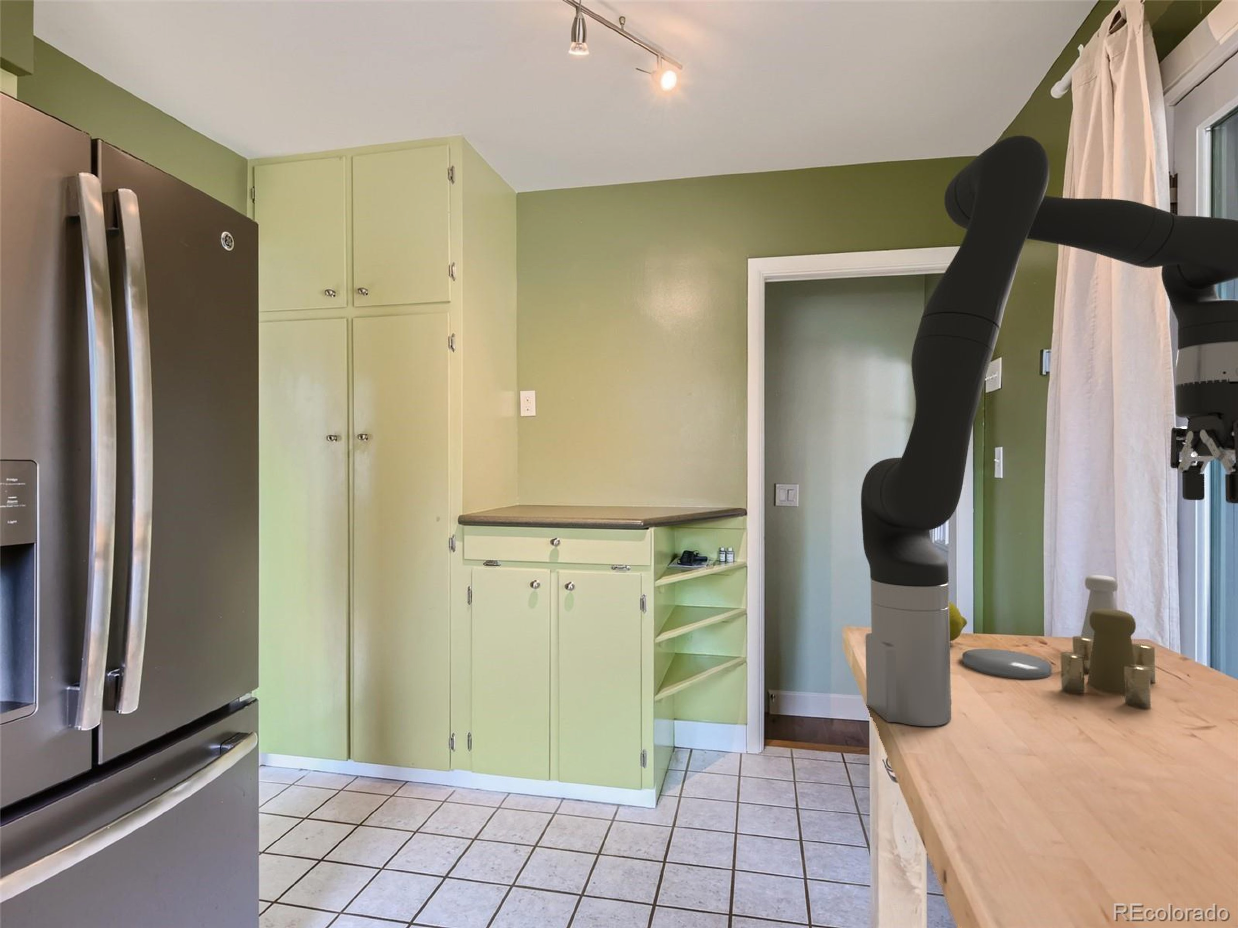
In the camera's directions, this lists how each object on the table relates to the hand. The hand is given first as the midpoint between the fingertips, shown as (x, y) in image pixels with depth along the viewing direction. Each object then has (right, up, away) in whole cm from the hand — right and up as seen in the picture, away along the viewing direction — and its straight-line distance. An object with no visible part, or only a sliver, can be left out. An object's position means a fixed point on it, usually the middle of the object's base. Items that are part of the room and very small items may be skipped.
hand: (1214, 501), depth 82 cm
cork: (-9, -27, +6) cm, 29 cm away
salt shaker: (+2, -27, +21) cm, 34 cm away
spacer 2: (-8, -27, +13) cm, 31 cm away
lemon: (-23, -28, +29) cm, 46 cm away
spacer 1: (-16, -27, +4) cm, 32 cm away
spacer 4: (-11, -27, -1) cm, 29 cm away
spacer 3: (-2, -27, +8) cm, 28 cm away
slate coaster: (-18, -27, +15) cm, 36 cm away
